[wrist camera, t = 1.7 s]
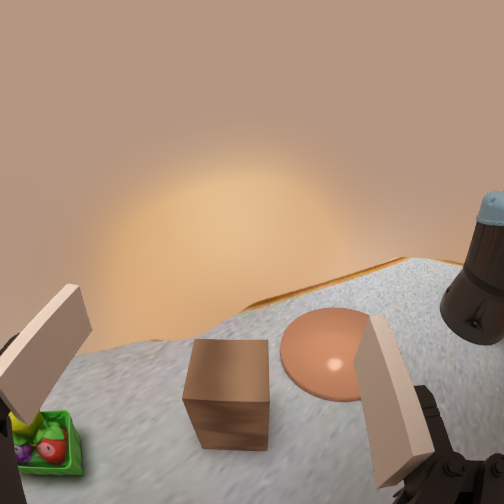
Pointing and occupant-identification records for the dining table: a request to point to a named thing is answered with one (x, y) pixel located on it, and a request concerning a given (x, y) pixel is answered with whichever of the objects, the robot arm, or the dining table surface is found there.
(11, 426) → the robot arm
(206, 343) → the walnut block
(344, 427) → the dining table surface
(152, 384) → the dining table surface
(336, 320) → the dish
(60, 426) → the fruit basket
